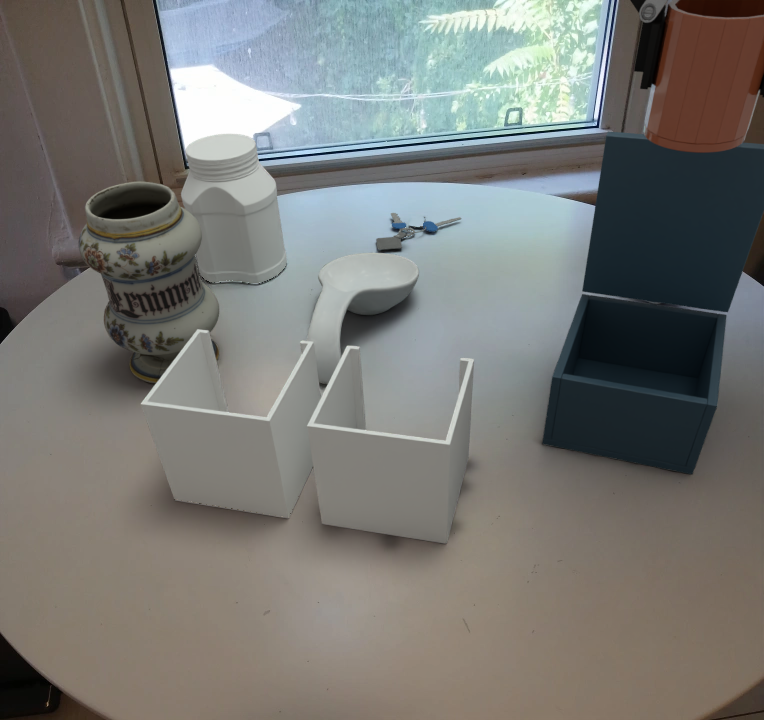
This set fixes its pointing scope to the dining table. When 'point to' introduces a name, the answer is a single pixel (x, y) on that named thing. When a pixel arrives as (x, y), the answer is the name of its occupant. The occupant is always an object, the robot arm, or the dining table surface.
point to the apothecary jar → (148, 273)
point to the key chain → (398, 224)
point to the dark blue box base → (636, 382)
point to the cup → (706, 75)
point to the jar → (233, 210)
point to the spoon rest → (355, 298)
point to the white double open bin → (306, 448)
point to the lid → (674, 222)
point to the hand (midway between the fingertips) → (705, 85)
